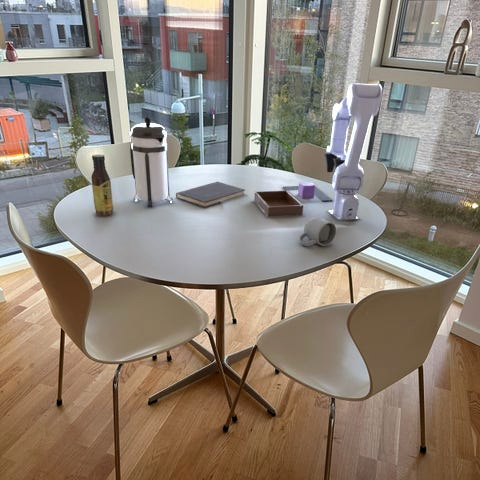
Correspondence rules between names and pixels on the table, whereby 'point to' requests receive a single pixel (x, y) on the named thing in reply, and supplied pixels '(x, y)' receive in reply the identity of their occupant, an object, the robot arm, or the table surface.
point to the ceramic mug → (318, 232)
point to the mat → (317, 193)
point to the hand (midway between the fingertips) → (333, 174)
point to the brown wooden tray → (278, 203)
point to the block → (306, 190)
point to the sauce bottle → (101, 187)
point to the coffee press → (150, 162)
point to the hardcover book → (209, 194)
